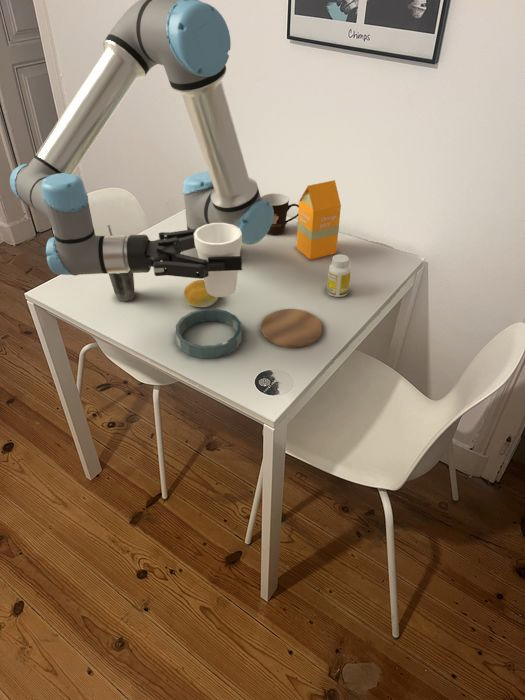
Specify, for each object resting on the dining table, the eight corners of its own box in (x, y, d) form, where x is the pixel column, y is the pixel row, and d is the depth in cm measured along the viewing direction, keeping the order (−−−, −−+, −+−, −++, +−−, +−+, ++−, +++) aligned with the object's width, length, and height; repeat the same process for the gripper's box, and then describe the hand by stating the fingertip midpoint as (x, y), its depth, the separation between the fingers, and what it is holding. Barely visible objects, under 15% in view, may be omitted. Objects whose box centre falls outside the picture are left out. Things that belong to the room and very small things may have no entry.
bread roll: (190, 311, 128) (189, 298, 126) (182, 292, 135) (180, 279, 132) (223, 305, 130) (222, 291, 128) (213, 286, 137) (212, 273, 134)
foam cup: (236, 303, 108) (234, 246, 100) (193, 298, 110) (187, 242, 101) (247, 279, 115) (246, 224, 107) (206, 275, 117) (202, 220, 109)
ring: (163, 339, 120) (162, 329, 118) (209, 311, 128) (208, 301, 126) (208, 367, 112) (208, 356, 110) (254, 336, 121) (254, 325, 119)
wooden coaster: (249, 330, 122) (249, 327, 122) (287, 304, 131) (287, 302, 130) (296, 356, 115) (296, 353, 115) (333, 327, 124) (334, 324, 123)
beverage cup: (145, 291, 135) (133, 218, 122) (131, 307, 130) (116, 232, 117) (120, 286, 137) (106, 214, 124) (105, 301, 132) (88, 227, 119)
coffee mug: (254, 232, 161) (254, 201, 154) (269, 221, 166) (269, 191, 160) (287, 241, 156) (288, 210, 150) (301, 230, 162) (303, 199, 155)
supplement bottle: (348, 287, 137) (352, 253, 131) (347, 298, 133) (351, 264, 127) (327, 285, 138) (330, 251, 131) (325, 296, 133) (329, 262, 127)
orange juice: (296, 248, 153) (299, 180, 140) (322, 241, 156) (327, 175, 144) (310, 260, 148) (314, 191, 135) (336, 253, 151) (343, 185, 138)
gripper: (138, 244, 117) (239, 241, 118) (124, 300, 100) (243, 296, 101) (133, 213, 112) (238, 210, 113) (117, 265, 95) (242, 261, 96)
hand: (240, 250), depth 107 cm, fingers closed on foam cup, 9 cm apart
